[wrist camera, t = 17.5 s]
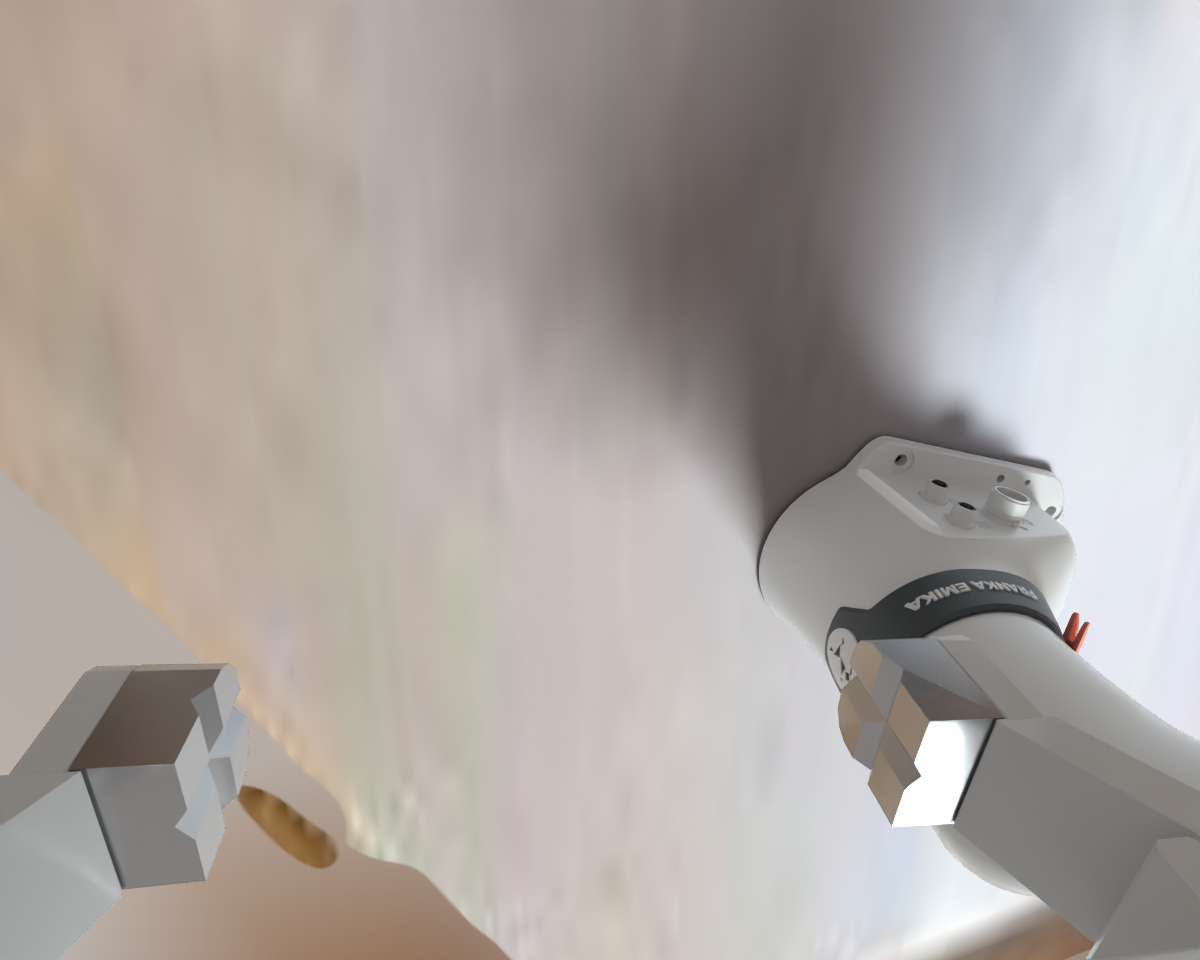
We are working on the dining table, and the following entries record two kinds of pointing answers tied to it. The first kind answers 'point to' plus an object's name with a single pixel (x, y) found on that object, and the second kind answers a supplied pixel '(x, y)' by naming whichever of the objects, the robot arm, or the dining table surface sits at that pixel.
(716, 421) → the dining table surface
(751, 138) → the dining table surface
